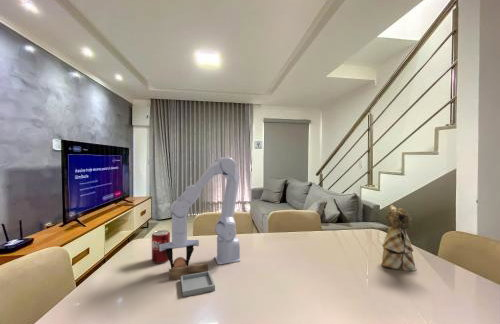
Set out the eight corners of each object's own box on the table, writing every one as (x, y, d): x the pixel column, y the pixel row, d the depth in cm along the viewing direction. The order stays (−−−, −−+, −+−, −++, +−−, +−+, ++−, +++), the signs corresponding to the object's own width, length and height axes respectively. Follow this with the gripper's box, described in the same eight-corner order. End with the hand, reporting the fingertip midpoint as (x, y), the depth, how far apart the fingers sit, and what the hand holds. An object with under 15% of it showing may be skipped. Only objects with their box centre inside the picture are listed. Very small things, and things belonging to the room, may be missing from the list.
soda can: (163, 265, 92) (163, 235, 92) (148, 263, 93) (147, 234, 93) (173, 257, 99) (173, 230, 99) (158, 256, 100) (158, 229, 100)
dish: (209, 275, 83) (209, 270, 83) (215, 290, 74) (215, 285, 74) (180, 280, 80) (180, 276, 80) (182, 297, 70) (182, 291, 70)
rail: (207, 271, 86) (207, 262, 86) (208, 273, 85) (208, 264, 85) (169, 278, 81) (168, 269, 81) (169, 280, 80) (168, 270, 80)
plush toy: (428, 263, 90) (411, 201, 93) (424, 277, 80) (405, 207, 83) (388, 260, 100) (374, 204, 103) (381, 273, 90) (365, 210, 93)
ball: (185, 266, 90) (185, 254, 90) (187, 272, 86) (186, 259, 86) (172, 268, 89) (172, 256, 89) (173, 274, 84) (173, 261, 84)
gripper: (197, 226, 93) (197, 259, 94) (159, 230, 88) (159, 264, 88) (199, 231, 87) (199, 266, 87) (159, 236, 82) (159, 273, 82)
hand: (179, 266), depth 87 cm, fingers closed on ball, 5 cm apart
